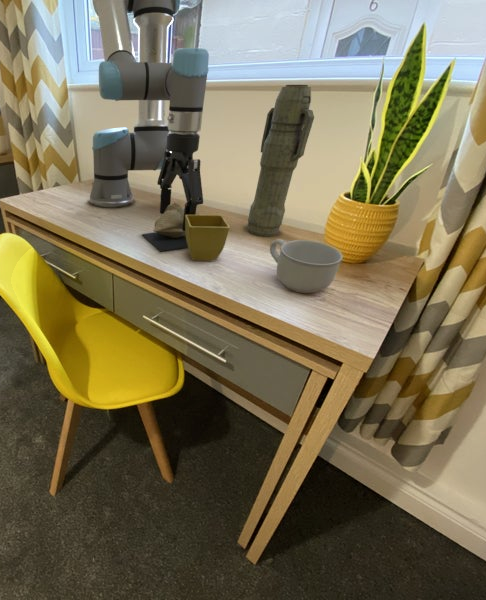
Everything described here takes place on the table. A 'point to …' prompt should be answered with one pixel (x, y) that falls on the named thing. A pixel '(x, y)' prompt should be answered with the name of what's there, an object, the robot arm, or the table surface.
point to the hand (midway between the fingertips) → (175, 221)
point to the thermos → (280, 157)
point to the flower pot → (205, 236)
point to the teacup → (306, 264)
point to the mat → (165, 242)
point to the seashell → (171, 221)
